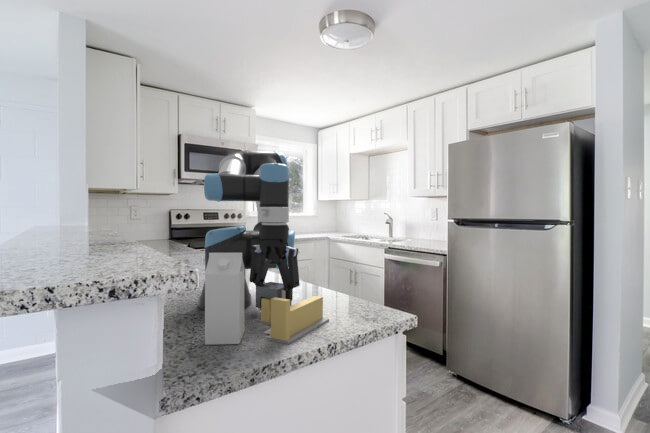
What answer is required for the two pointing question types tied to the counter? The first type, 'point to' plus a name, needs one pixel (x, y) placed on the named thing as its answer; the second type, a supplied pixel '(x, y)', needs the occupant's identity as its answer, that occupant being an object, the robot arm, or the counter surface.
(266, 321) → the stub
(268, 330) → the label
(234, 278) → the milk carton
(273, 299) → the rail
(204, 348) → the counter surface
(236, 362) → the counter surface
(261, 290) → the grey block
